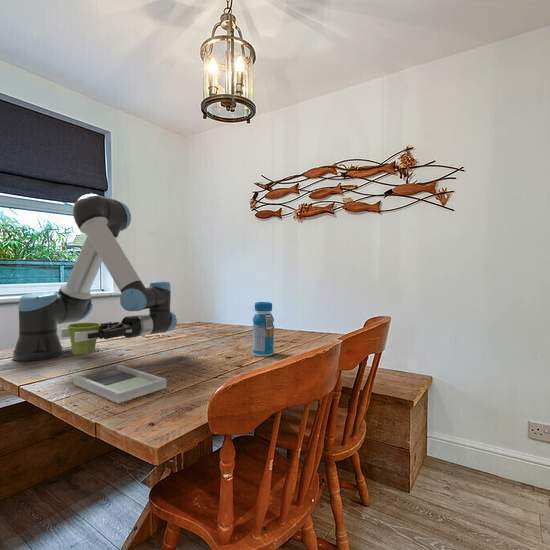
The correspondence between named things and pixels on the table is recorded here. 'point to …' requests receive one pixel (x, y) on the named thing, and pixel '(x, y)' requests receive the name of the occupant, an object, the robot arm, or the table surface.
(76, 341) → the robot arm
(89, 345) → the plant pot
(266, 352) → the beverage bottle
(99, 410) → the table surface
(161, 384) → the box
